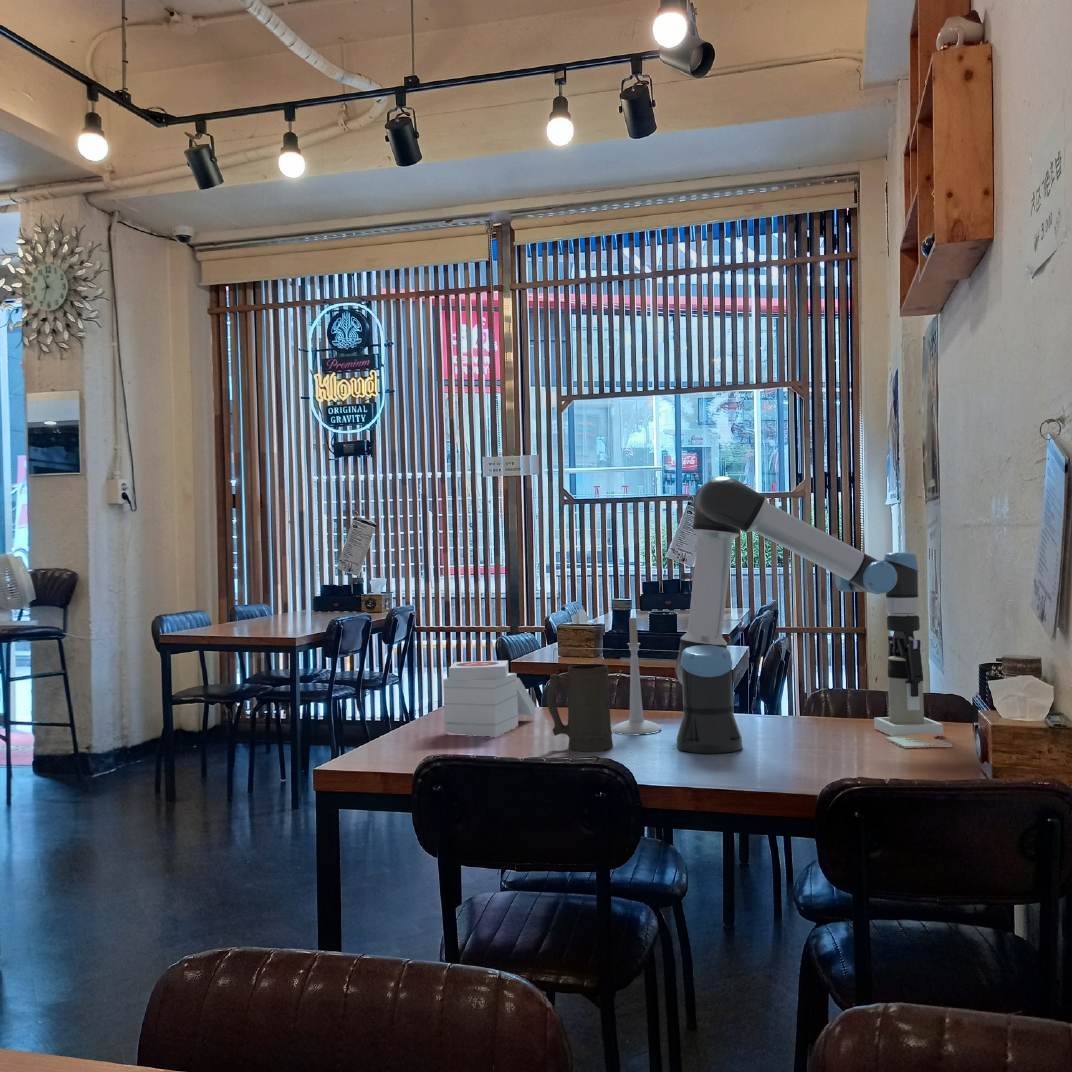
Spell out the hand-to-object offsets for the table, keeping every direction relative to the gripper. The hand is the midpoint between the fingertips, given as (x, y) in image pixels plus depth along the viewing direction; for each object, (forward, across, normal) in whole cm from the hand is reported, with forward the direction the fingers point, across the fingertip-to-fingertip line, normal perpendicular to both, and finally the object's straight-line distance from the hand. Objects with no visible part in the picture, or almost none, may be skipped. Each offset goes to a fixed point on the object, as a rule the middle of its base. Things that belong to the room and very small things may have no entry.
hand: (906, 707), depth 228 cm
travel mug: (+6, 0, 0) cm, 6 cm away
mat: (+6, -12, +3) cm, 14 cm away
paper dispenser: (+8, +28, +104) cm, 108 cm away
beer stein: (+7, -4, +81) cm, 81 cm away
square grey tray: (+6, 0, 0) cm, 6 cm away
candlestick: (+7, +16, +65) cm, 67 cm away
